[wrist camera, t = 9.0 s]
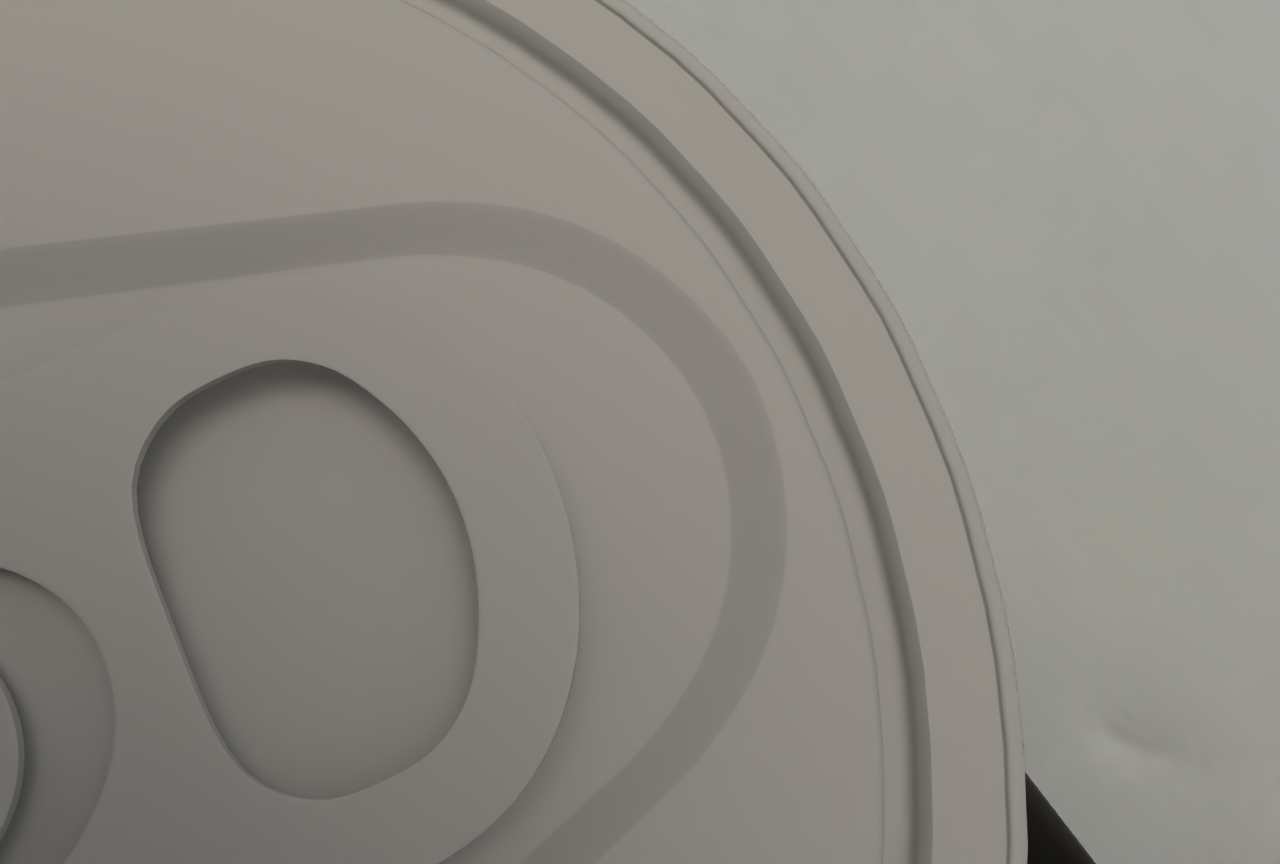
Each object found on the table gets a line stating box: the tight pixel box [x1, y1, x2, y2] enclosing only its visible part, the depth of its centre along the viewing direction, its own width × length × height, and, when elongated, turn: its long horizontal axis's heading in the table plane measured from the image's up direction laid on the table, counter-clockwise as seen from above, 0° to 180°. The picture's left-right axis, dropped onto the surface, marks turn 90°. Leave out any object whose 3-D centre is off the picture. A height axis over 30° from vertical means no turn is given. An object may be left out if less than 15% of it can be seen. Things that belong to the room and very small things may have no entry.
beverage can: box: [0, 0, 1028, 864], centre depth 9 cm, size 6×6×12 cm
